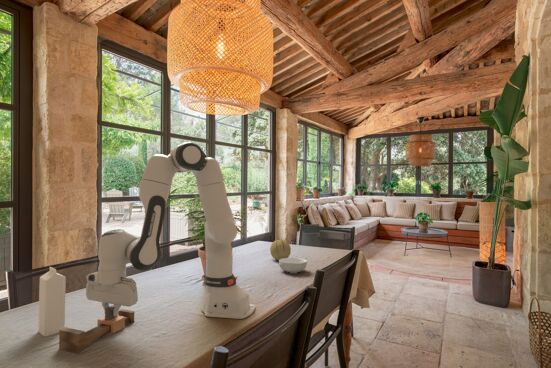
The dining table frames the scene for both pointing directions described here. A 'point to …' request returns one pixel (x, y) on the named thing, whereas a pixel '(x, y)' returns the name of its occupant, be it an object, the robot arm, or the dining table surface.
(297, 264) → the cereal bowl
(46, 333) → the milk
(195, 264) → the dining table surface
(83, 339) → the rail
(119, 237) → the robot arm
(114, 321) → the slider
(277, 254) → the cantaloupe
